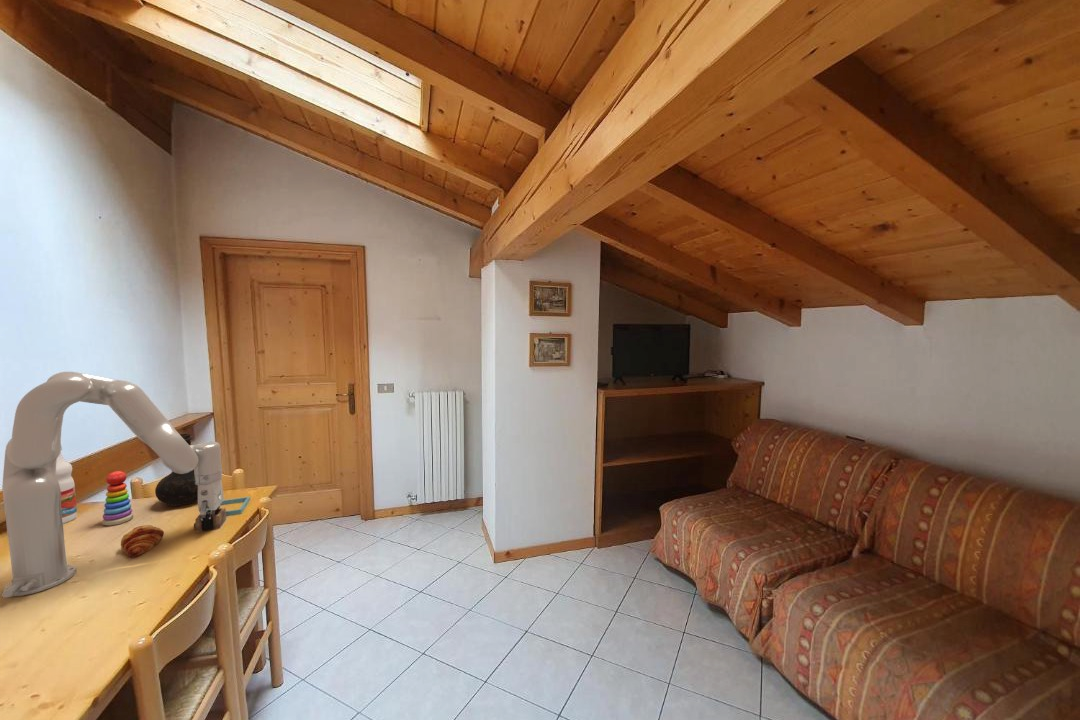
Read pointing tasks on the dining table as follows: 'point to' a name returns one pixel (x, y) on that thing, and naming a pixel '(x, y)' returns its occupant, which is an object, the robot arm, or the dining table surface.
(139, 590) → the dining table surface
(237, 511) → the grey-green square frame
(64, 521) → the fruit juice
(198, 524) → the collar
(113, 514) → the stacking toy
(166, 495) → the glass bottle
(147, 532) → the croissant
